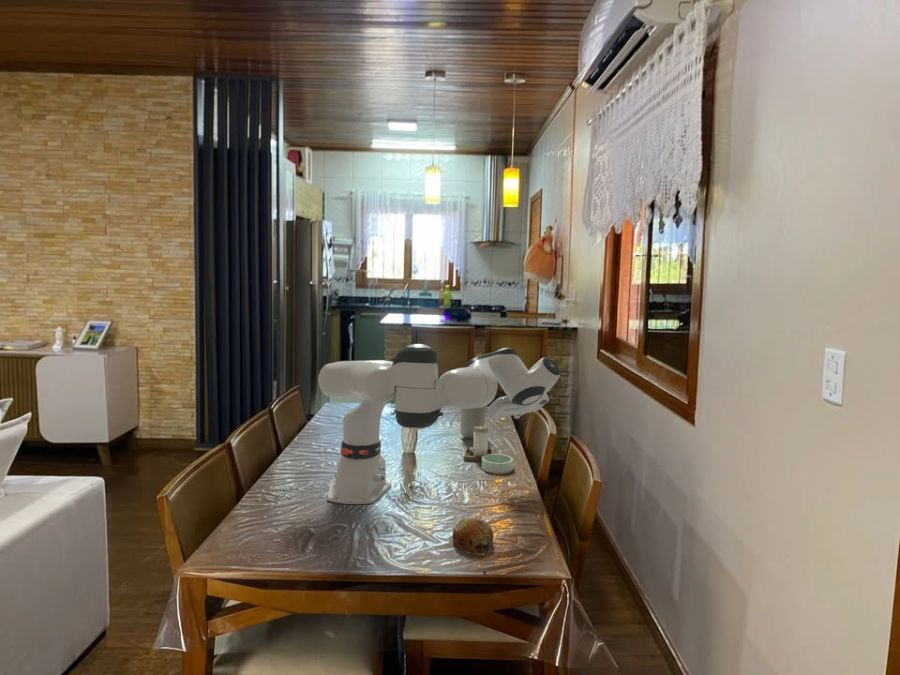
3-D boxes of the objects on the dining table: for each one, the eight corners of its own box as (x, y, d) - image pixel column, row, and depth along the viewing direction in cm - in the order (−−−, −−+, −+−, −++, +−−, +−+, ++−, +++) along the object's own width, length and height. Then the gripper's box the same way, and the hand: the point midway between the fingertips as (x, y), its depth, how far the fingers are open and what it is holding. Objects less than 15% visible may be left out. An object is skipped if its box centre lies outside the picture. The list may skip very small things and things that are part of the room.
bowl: (512, 476, 200) (513, 464, 199) (481, 475, 201) (481, 462, 200) (512, 466, 210) (512, 454, 210) (481, 465, 211) (482, 453, 210)
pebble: (475, 455, 219) (475, 448, 219) (468, 454, 219) (468, 448, 219) (475, 453, 221) (475, 446, 221) (468, 452, 221) (469, 446, 221)
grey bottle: (483, 435, 248) (485, 367, 245) (484, 443, 238) (486, 372, 234) (459, 435, 248) (461, 367, 245) (459, 442, 238) (461, 371, 235)
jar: (487, 460, 213) (488, 429, 212) (472, 459, 213) (473, 429, 212) (487, 456, 218) (488, 426, 217) (473, 455, 218) (473, 425, 217)
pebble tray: (492, 465, 211) (492, 458, 211) (463, 463, 212) (464, 456, 212) (492, 455, 222) (493, 448, 222) (465, 454, 223) (465, 447, 223)
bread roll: (491, 551, 155) (490, 518, 157) (495, 552, 145) (495, 516, 148) (451, 551, 154) (452, 518, 157) (453, 552, 145) (454, 516, 147)
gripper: (505, 406, 187) (484, 430, 196) (553, 399, 199) (531, 422, 208) (496, 390, 190) (476, 414, 199) (544, 384, 202) (523, 407, 211)
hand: (504, 418), depth 203 cm, fingers open, 8 cm apart
